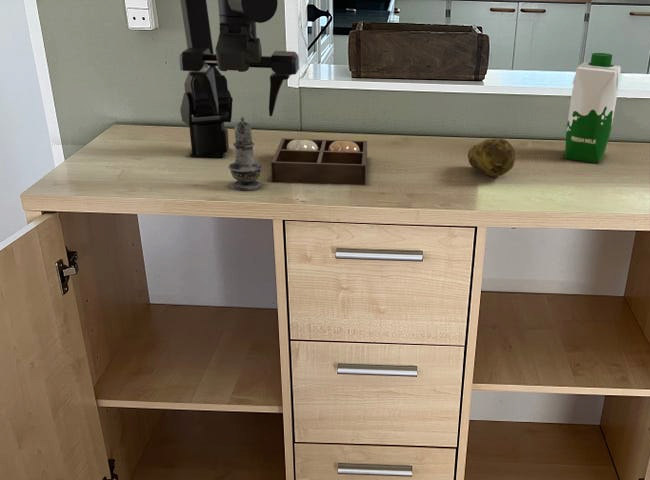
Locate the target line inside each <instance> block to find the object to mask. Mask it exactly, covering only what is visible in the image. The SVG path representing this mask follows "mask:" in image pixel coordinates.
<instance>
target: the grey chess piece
mask: <svg viewBox="0 0 650 480" xmlns="http://www.w3.org/2000/svg"><path fill="white" fill-rule="evenodd" d="M239 120H240V121H239V122H238V123H236V124H235V125H234V139H235V140H234V141H235V142H234V143H233V144H232V145H233V146H234V147H235V158H234V159H235V160H234V161H233V162H232V163H230V164H228V166H227V167H228V169H229V170H230V174H231V176H232V178H233V179H234V180H236V181H234V182H233V183H232V184H231V188H232V189H233V190H236V191H241V192H250V191H256V190H259V189H261V188H262V187H263V184H262V183H261V182H259V181H258V179H259V177H260V176H261V172H262V169H263V164H262V163H260V162H257V161H256V160H255V156H254V146H255V142H253V136H252V135H253V134H252V126H251V124H249V123H248V122H246V121H245V119H244V117H243V116H241V117H240V119H239Z"/></svg>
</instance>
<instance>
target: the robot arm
mask: <svg viewBox="0 0 650 480" xmlns="http://www.w3.org/2000/svg"><path fill="white" fill-rule="evenodd" d="M179 1H180V8H181V15H182V21H183V28H184V33H185V41H186V46H187V47H186V49H185V50H183V51H182V52H181V53H180V54H179V68H180V69H179V70H180V71H183V72H188V74H187V76H186V79H185V80H184V83H183V86H184V93H183V97H182V99H181V105H180V108H179V111H180V112H179V113H180V116H181V121H182V123H184V124H186V125H187V126H188V128H189V137H190V148H191V151H190V153H189V157H193V158H194V157H195V158H196V157H197V158H224V157H225V155H226V154H227V152H228V150H229V149H230V144H229V143H230V142H229V130H228V127H226V126H225V123H231V122H232V117H233V114H232V113H233V100H234V98H233V97H232V94H231V91H230V90H229V87H228V79H227V78H226V76H225V75H223V74H222V73H221V72H228V71H234V72H235V71H236V72H239V73H245V72H247V71H249V69H250V68H256V69H257V68H259V69H271V71H272V73H271V74H270V76H269V100H268V102H269V103H268V114H269V117H273V115H274V111H275V107H276V104H277V99H278V96H279V93H280V89H281V86H282V84H283V83H284V81H287V80H289V79H290V77H291V76H294V75H297V73H298V71H299V70H300V57H299V54H298V53H297V52H296V51H288V50H274V51H273V53H272V54H271V55H263V51H262V50H263V49H262V43H261V39H260V38H259V37H258V35H257V34H258V33H257V23H258V24H263V23H267V22H268V21H270V20H272V18H274V16H275V14H276V12H277V9H278V3H279V1H278V0H217V4H218V17H219V18H218V19H219V28H218V29H219V34H218V39H217V42H216V44H215V49H214V45H213V39H212V32H211V24H210V17H209V11H208V10H209V9H208V3H207V0H179ZM214 50H215V51H214ZM214 52H215V53H214Z"/></svg>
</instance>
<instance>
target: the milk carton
mask: <svg viewBox="0 0 650 480" xmlns="http://www.w3.org/2000/svg"><path fill="white" fill-rule="evenodd" d="M612 61H613V54H611V53H605V52H593V53H591V58H590V62H582V63H581V64H579V65H578V66H577V67H576V69H575V74H574V77H573V82H572V91H571V95H570V96H571V97H570V103H569V109H568V117H567V122H566V131H565V147H564V159H565V160H570V161H571V160H572V161H579V162H586V163H594V164H599V163H600V161H601V160H602V158H603V157H604V155H605V151H606V148H607V145H608V143H609V140H610V137H611V132H612V126H613V121H614V115H615V111H616V104H617V99H618V94H619V93H618V92H619V85H620V79H621V70H622V66H621V65H615V64H612Z"/></svg>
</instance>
